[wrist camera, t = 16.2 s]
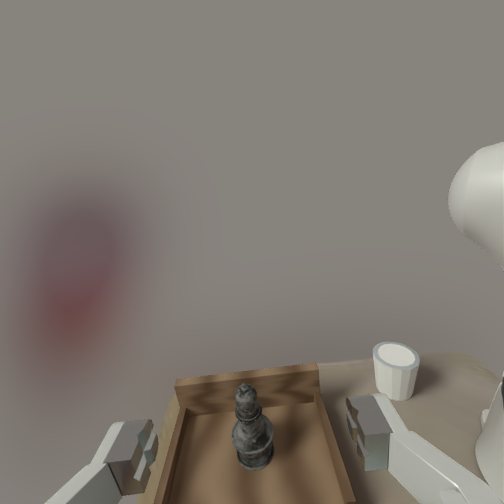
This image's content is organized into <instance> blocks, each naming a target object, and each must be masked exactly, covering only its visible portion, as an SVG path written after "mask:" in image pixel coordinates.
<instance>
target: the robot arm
mask: <svg viewBox="0 0 504 504" xmlns="http://www.w3.org/2000/svg"><path fill="white" fill-rule="evenodd" d="M448 207H449V212H450V215H451V218H452V220H453V222H454V224H455V225H456V227H457V228H458V229H459V230H460V232H461V233H462V234H463V235H464V236H465V237H467V238H468V239H470V240H472V241H473V242H474V243H476V244H477V245H479V246H480V247H481V248H482V249H483V250H485V251H486V252H487V253H488V254H489V255H490V256H491V257H492V258H493V259H494V260H495V261H496V262H497V263H498V265H499V266H500V267H501V268H502V269H503V271H504V142H501V143H497V144H494V145H490V146H487V147H484V148H481V149H479V150H478V151H477V152H475V153H474V154H473V155H472V156H471V157H470V158H469V159H468V160H467V161H466V162H465V163H464V164H463V165H462V166H461V168H460V169H459V171H458V172H457V174H456V176H455V177H454V179H453V181H452V184H451V187H450V190H449V195H448ZM346 405H347V407H348V411H347V422H348V427H349V430H350V434H351V436H352V439H353V440H354V441H355V442H356V443H357V452H358V455H359V457H360V460H361V463H362V465H363V468H364V470H365V471H370V470H385V469H388V471H389V472H390V473H391V474H392V475H393V476H394V477H395V478H396V479H397V480H398V481H399V482H400V483H401V484H402V485H403V486H404V487H405V488H406V489H407V490H408V491H409V492H410V493H411V495H412V496H413V497H414V498H415V499H416V500H417V501H418V502H419V503H420V504H502V502H503V504H504V372H503V381H502V382H501V383H500V384H499V387H498V389H497V392H496V394H495V397H494V399H493V402H492V404H491V407H490V409H485V410H483V411H482V414H481V416H480V420H481V425H482V432H481V434H480V436H479V438H478V440H477V442H476V448H475V453H476V459H477V462H478V465H479V468H480V470H481V472H482V474H483V476H484V478H485V480H486V481H487V483H488V484H489V485H488V484H486V483H485V482H484V481H482V480H481V479H479V478H478V477H477V476H475V475H474V474H472V473H471V472H470V471H468V470H467V469H465V468H464V467H463V466H461V465H460V464H458V463H457V462H456V461H454V460H453V459H451V458H450V457H449V456H447V455H446V454H444V453H443V452H442V451H440V450H439V449H437V448H436V447H435V446H433V445H432V444H430V443H429V442H428V441H426V440H425V439H423V438H422V437H420V436H419V435H418V434H416V433H415V432H413V431H408V429H407V427H406V426H405V424H404V423H403V421H402V419H401V418H400V416H399V414H398V413H397V411H396V409H395V408H394V406H393V405H392V403H391V401H390V400H389V398H388V396H387V395H386V394H385V393H378V394H368V395H360V396H352V397H347V398H346ZM153 426H154V425H153V422H152V420H149V419H148V420H137V421H125V422H115V423H114V424H113V425H112V426H111V427H110V429H109V431H108V432H107V434H106V436H105V438H104V440H103V441H102V443H101V445H100V447H99V449H98V451H97V453H96V454H95V456H94V458H93V460H92V462H91V463H90V465H86V466H85V467H84V468H83V469H82V470H81V471H79V472H78V473H77V474H76V475H75V476H74V477H73V478H72V479H71V480H70V481H69V482H67V483H66V484H65V485H64V486H63V487H62V488H61V489H60V490H59V491H58V492H57V493H55V494H54V495H53V496H52V497H51V498H50V499H49V500H48V501H47V502H46V503H45V504H118V503H119V501H120V500H121V499H122V496H126V495H133V494H141V493H144V492H145V489H146V486H147V483H148V480H149V477H150V474H151V472H150V469H149V466H150V465H151V464H152V463H153V462H154V461H155V458H156V455H157V451H158V436H157V433H156V432H154V431H153V430H152V428H153ZM490 487H491V488H490ZM493 491H494V492H493ZM496 495H497V496H496ZM499 499H500V500H501V501H502V502H501V501H500V500H499Z"/></svg>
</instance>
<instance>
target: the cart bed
mask: <svg viewBox="0 0 504 504" xmlns="http://www.w3.org/2000/svg"><path fill="white" fill-rule="evenodd" d="M243 383H246V384H250V385H252V386H253V387H255V389H256V392H257V398H258V402H259V403H260V404H261V406H262V414H263V415H265V416H267V417H268V419H269V420H270V421H271V423H272V425H273V430H274V432H273V438H272V442H273V446H274V454H273V457H272V460H271V461H270V463H269V464H268V465H267V466H266V467H265V468H263V469H261V470H257V471H250V470H247V469H245V468H244V467H243V466H241V464H240V463H239V461H238V458H237V449H236V448H235V447H234V445H233V443H232V440H231V431H232V427H233V425H234V423H235V422H236V421H237V420H238V419H237V418H236V415H235V409H236V407H237V405H236V400H235V391H236V389H237V388H238V387H239V386H240V385H242V384H243ZM174 387H175V391H176V395H177V398H178V402H179V406H180V411H179V414H178V418H177V422H176V425H175V429H174V432H173V436H172V439H171V443H170V447H169V450H168V454H167V457H166V461H165V464H164V468H163V472H162V475H161V479H160V482H159V486H158V489H157V493H156V497H155V500H154V504H356V499H355V496H354V493H353V490H352V487H351V484H350V481H349V478H348V475H347V472H346V469H345V466H344V463H343V460H342V457H341V454H340V451H339V448H338V445H337V442H336V439H335V436H334V433H333V430H332V427H331V424H330V421H329V418H328V415H327V412H326V409H325V406H324V403H323V400H322V397H321V394H320V386H319V369H318V367H317V364H316V363H310V364H302V365H293V366H285V367H276V368H269V369H259V370H251V371H242V372H234V373H226V374H217V375H209V376H200V377H192V378H184V379H177V381H176V383H175V386H174Z"/></svg>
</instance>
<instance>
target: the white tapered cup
mask: <svg viewBox="0 0 504 504" xmlns="http://www.w3.org/2000/svg"><path fill="white" fill-rule="evenodd" d="M373 357H374V367H375V377H376V386H377V388H378V390H379V391H380V392H381V393H385V394H386V395H387V396H388V398H390V399H393V400H397V401H404V400H407V399H409V398H411V396H412V394H413V390H414V385H415V381H416V376H417V372H418V368H419V363H420V360H419V356H418V354H417V353H416V352H415V351H414V350H412V349H411V348H410V347H408V346H406V345H403V344H400V343H397V342H381V343H380V344H377V345H376V346H375V347H374V348H373Z"/></svg>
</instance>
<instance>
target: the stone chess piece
mask: <svg viewBox="0 0 504 504" xmlns="http://www.w3.org/2000/svg"><path fill="white" fill-rule="evenodd" d="M235 400H236V405H237V407H236V409H235V415H236V418H237V419H238V420H237V421H236V422H235V423H234V425H233V427H232V431H231V440H232V443H233V445H234V447H235V448H236V449H237V458H238V461H239V463H240V464H241V466H243V467H244V468H245V469H247V470H250V471H257V470H261V469H263V468H265V467H266V466H267V465H268V464H269V463H270V461H271V460H272V457H273V454H274V446H273V442H272V438H273V432H274V430H273V425H272V423H271V421H270V420H269V419H268V417H267V416H265V415H263V414H262V406H261V404H260V403H259V402H258V398H257V392H256V389H255V387H253V386H252V385H250V384H246V383H243V384H242V385H240V386H239V387H238V388H237V389H236V391H235Z"/></svg>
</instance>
